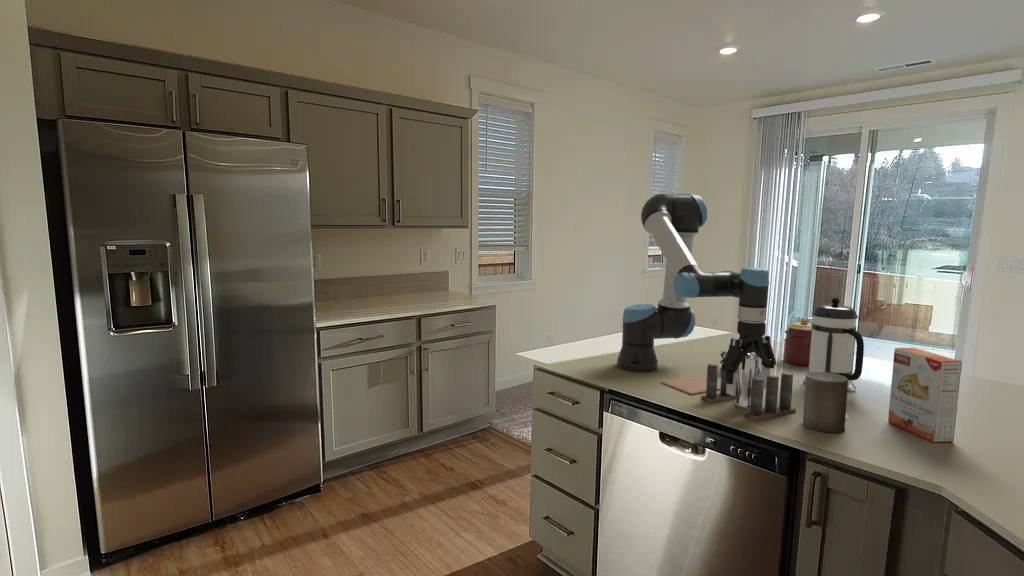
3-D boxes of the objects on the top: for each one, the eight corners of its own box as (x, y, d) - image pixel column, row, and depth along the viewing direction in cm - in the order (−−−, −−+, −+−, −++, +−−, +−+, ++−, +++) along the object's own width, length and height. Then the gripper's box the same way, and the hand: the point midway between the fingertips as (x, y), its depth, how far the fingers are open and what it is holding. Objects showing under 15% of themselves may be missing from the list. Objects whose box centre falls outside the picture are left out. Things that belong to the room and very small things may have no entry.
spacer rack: (701, 398, 158) (702, 364, 157) (738, 392, 165) (740, 358, 164) (756, 421, 140) (759, 381, 139) (795, 412, 147) (798, 374, 146)
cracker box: (886, 422, 140) (893, 347, 138) (906, 421, 141) (914, 346, 138) (932, 443, 126) (940, 360, 124) (954, 442, 127) (963, 360, 124)
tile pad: (661, 382, 174) (661, 381, 174) (692, 377, 180) (692, 376, 180) (691, 395, 162) (691, 393, 162) (723, 389, 168) (723, 387, 168)
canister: (785, 356, 211) (788, 314, 209) (822, 361, 204) (825, 317, 201) (780, 363, 201) (783, 318, 198) (818, 368, 193) (822, 322, 191)
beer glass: (762, 410, 149) (765, 359, 147) (736, 408, 150) (739, 358, 148) (756, 402, 155) (759, 353, 154) (731, 400, 157) (734, 352, 155)
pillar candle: (853, 431, 134) (858, 375, 132) (824, 435, 131) (828, 377, 129) (821, 418, 143) (825, 365, 141) (793, 421, 140) (797, 368, 139)
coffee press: (796, 387, 170) (803, 298, 166) (809, 377, 181) (815, 293, 178) (859, 399, 158) (867, 303, 155) (868, 388, 170) (876, 298, 166)
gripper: (731, 326, 141) (727, 401, 144) (792, 319, 152) (787, 389, 154) (710, 321, 148) (706, 393, 150) (770, 315, 158) (765, 382, 161)
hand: (747, 391), depth 152 cm, fingers open, 13 cm apart
